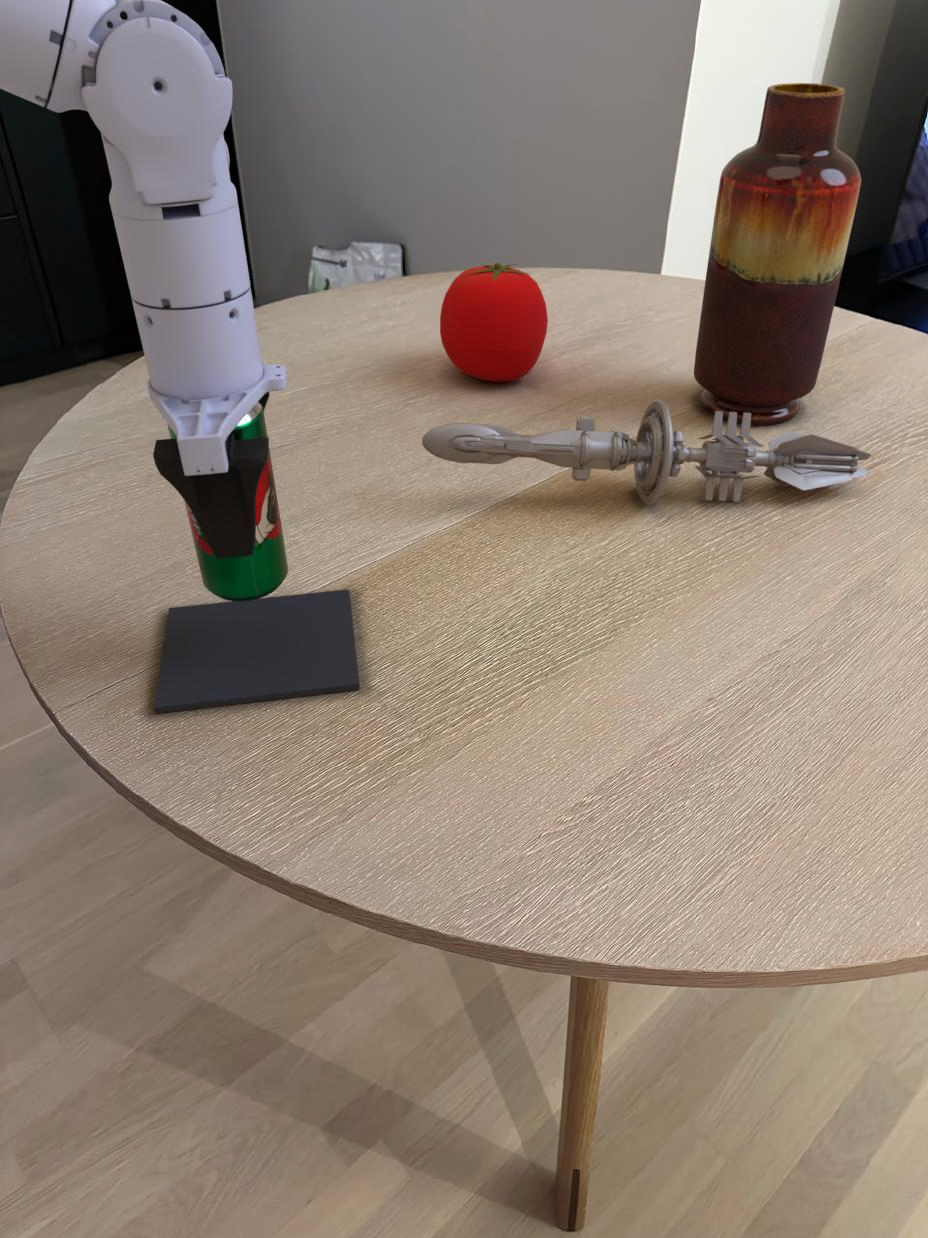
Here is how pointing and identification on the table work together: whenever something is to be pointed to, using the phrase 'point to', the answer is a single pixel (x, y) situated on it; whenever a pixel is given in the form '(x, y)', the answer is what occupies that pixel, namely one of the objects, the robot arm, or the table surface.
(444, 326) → the tomato
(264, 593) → the soda can
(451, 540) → the table surface
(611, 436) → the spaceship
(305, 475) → the table surface
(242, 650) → the mat
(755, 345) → the vase
